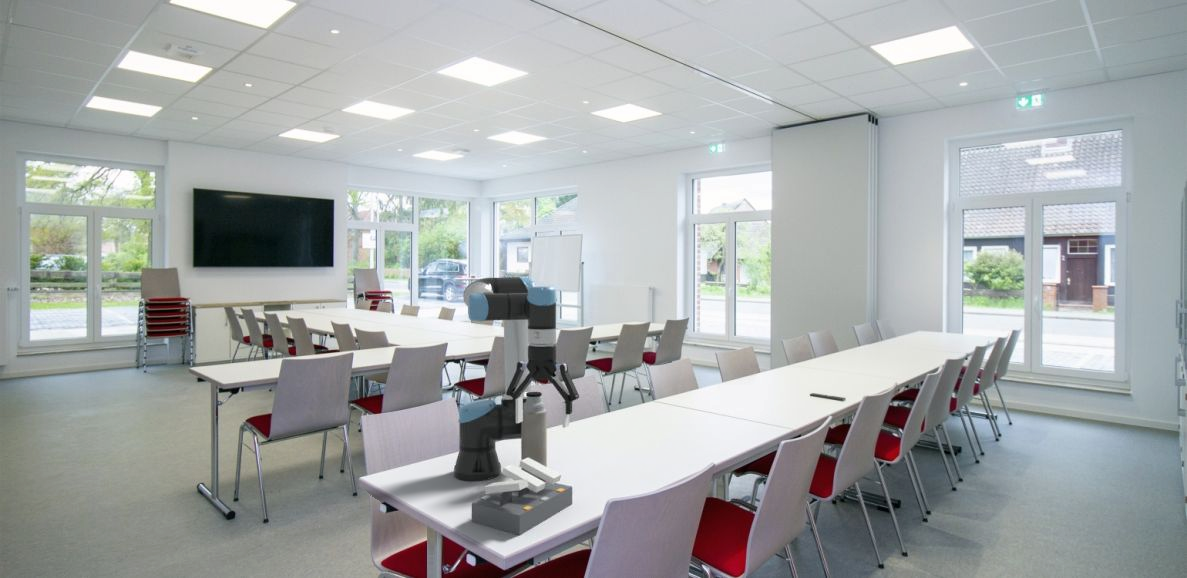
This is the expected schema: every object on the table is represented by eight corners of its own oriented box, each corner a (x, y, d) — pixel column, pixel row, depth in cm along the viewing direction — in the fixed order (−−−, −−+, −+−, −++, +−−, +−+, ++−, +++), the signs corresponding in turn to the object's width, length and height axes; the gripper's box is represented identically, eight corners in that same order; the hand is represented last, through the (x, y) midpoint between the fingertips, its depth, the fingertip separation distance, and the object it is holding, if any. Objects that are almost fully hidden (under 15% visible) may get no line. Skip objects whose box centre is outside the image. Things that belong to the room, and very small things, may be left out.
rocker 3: (519, 466, 174) (520, 460, 173) (526, 463, 177) (528, 457, 177) (552, 484, 168) (553, 478, 168) (559, 480, 171) (561, 474, 171)
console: (471, 521, 160) (471, 491, 160) (527, 493, 180) (527, 466, 180) (519, 535, 152) (519, 503, 151) (572, 504, 172) (572, 476, 172)
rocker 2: (502, 473, 167) (503, 467, 167) (510, 470, 170) (511, 464, 170) (536, 492, 161) (537, 486, 161) (544, 488, 164) (545, 482, 164)
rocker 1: (485, 493, 161) (484, 486, 161) (494, 489, 164) (493, 482, 164) (520, 490, 155) (518, 483, 155) (528, 485, 158) (527, 479, 158)
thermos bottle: (522, 476, 195) (522, 390, 195) (547, 476, 196) (547, 390, 195) (520, 485, 187) (519, 395, 187) (546, 484, 188) (545, 394, 187)
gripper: (493, 344, 162) (493, 423, 162) (580, 348, 153) (580, 431, 153) (506, 341, 169) (507, 417, 169) (590, 344, 160) (591, 424, 161)
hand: (542, 424), depth 161 cm, fingers open, 13 cm apart
